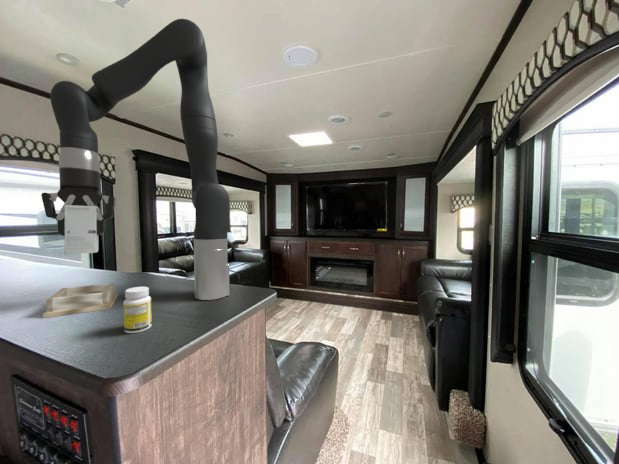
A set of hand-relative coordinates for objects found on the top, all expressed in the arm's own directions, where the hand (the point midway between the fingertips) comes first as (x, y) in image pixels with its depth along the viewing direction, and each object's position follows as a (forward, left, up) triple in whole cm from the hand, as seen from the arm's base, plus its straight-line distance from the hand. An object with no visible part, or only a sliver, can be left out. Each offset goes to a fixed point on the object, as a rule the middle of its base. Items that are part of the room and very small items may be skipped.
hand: (82, 234), depth 63 cm
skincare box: (0, 0, -5) cm, 5 cm away
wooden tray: (0, 0, -19) cm, 19 cm away
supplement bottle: (-13, +23, -19) cm, 32 cm away
